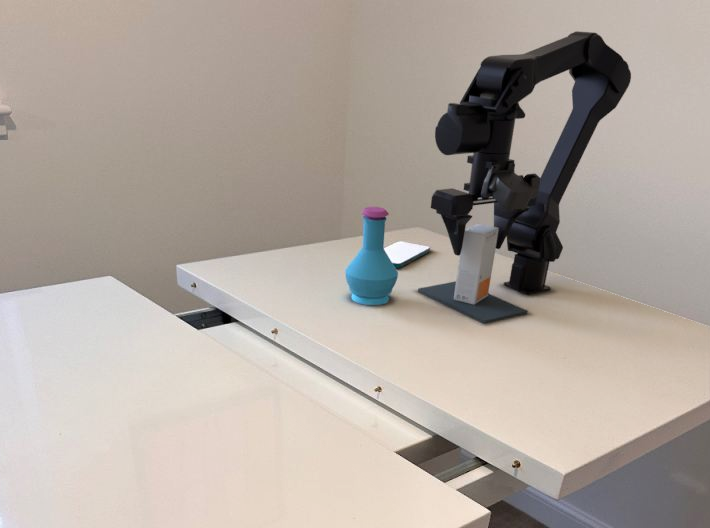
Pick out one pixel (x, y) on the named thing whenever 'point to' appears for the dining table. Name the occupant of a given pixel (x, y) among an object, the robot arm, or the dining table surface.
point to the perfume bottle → (372, 263)
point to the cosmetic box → (476, 263)
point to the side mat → (481, 311)
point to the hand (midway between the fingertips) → (477, 251)
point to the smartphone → (405, 252)
